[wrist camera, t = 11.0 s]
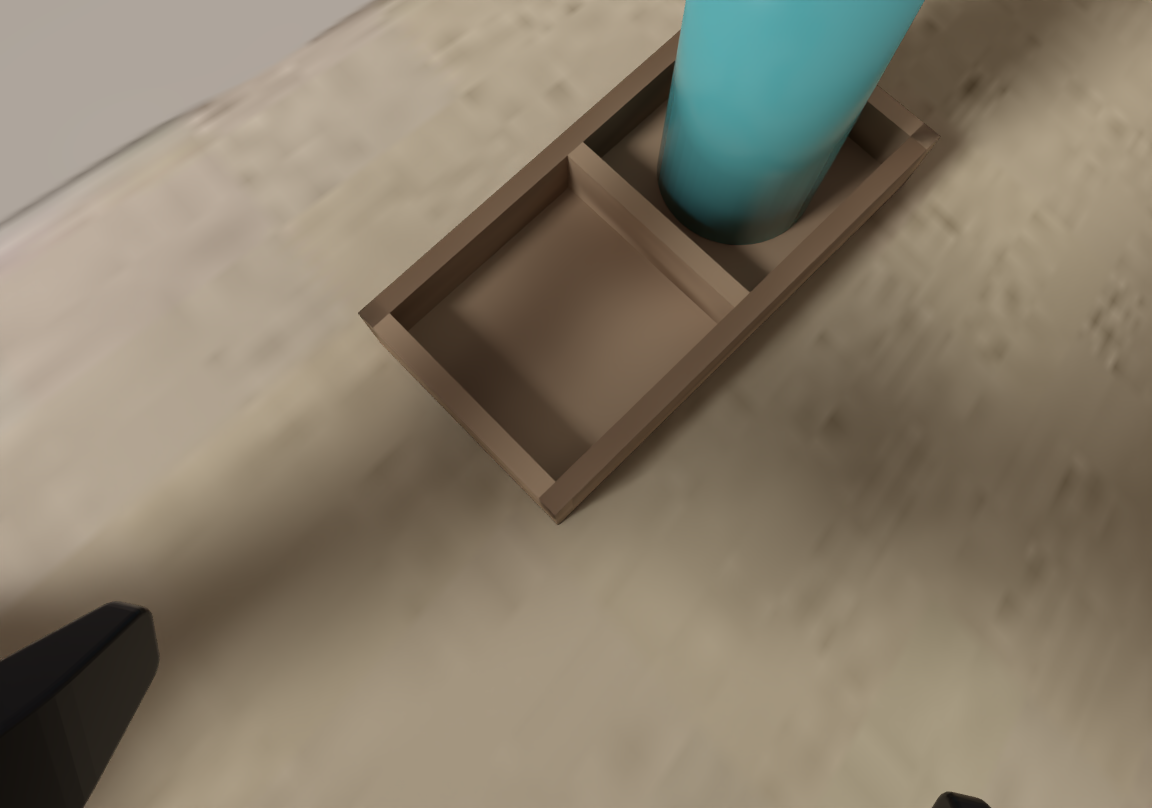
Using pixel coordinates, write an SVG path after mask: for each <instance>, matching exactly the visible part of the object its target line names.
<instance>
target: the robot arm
mask: <svg viewBox="0 0 1152 808" xmlns="http://www.w3.org/2000/svg"><path fill="white" fill-rule="evenodd" d="M158 664H159V650H158V645H157V639H156V633H155V628H154V622H153V617H152V613H151V612H150V611H149V610H148V609H147V608H146V607H143V606H139V605H134V604H130V603H125V602H121V601H114V602H110V603H107V604H105V605H102V606H101V607H99V608H97V609H95V610H93V611H91V612H89V613H88V614H86V615H84V616H82V617H80V618H78V619H76V620H74V621H73V622H71V623H69V624H67V625H65V626H63V627H61V628H60V629H58V630H56V631H54V632H52V633H50V634H48V635H47V636H45V637H43V638H41V639H39V640H37V641H35V642H33V643H32V644H30V645H28V646H26V647H24V648H22V649H20V650H19V651H17V652H15V653H13V654H11V655H9V656H7V657H5V658H4V659H2V660H0V808H83V807H84V806H85V804H86V802H87V801H88V799H89V797H90V795H91V794H92V792H93V790H94V788H95V787H96V785H97V783H98V781H99V779H100V777H101V776H102V774H103V772H104V770H105V768H106V766H107V764H108V763H109V761H110V759H111V757H112V755H113V753H114V751H115V749H116V748H117V746H118V744H119V742H120V740H121V738H122V736H123V734H124V733H125V731H126V729H127V727H128V725H129V723H130V721H131V720H132V718H133V716H134V714H135V712H136V710H137V708H138V706H139V705H140V703H141V701H142V699H143V697H144V695H145V693H146V691H147V690H148V688H149V686H150V684H151V682H152V680H153V678H154V676H155V674H156V671H157V668H158ZM932 808H991V807H990V806H989V805H988V804H987V803H986V802H984V801H983V800H981V799H979V798H976V797H972V796H968V795H963V794H959V793H955V792H945V793H943V794H941V795H940V796H939V797H938V799H937V800H936V802H935V804H934V805H933V807H932Z"/></svg>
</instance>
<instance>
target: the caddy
mask: <svg viewBox="0 0 1152 808" xmlns="http://www.w3.org/2000/svg"><path fill="white" fill-rule="evenodd" d="M680 31H681V30H680ZM680 31H679V32H677V33H676V34H675V35H674V36H673V37H672V38H671V39H669V40H668V41H667V42H666V43H665V44H664V45H663V46H661V47H660V48H659V49H658V50H657V51H656V52H655V53H653V54H652V55H651V56H650V57H649V58H648V59H647V60H646V61H644V62H643V63H642V64H641V65H640V66H639V67H638V68H636V69H635V70H634V71H633V72H632V73H631V74H630V75H628V76H627V77H626V78H625V79H624V80H623V81H622V82H620V83H619V84H618V85H617V86H616V87H615V88H614V89H612V90H611V91H610V92H609V93H608V94H607V95H606V96H604V97H603V98H602V99H601V100H600V101H599V102H598V103H597V104H595V105H594V106H593V107H592V108H591V109H590V110H589V111H587V112H586V113H585V114H584V115H583V116H582V117H581V118H579V119H578V120H577V121H576V122H575V123H574V124H573V125H571V126H570V127H569V128H568V129H567V130H566V131H565V132H563V133H562V134H561V135H560V136H559V137H558V138H557V139H556V140H554V141H553V142H552V143H551V144H550V145H549V146H548V147H546V148H545V149H544V150H543V151H542V152H541V153H540V154H538V155H537V156H536V157H535V158H534V159H533V160H532V161H530V162H529V163H528V164H527V165H526V166H525V167H524V168H522V169H521V170H520V171H519V172H518V173H517V174H516V175H514V176H513V177H512V178H511V179H510V180H509V181H508V182H507V183H505V184H504V185H503V186H502V187H501V188H500V189H499V190H497V191H496V192H495V193H494V194H493V195H492V196H491V197H489V198H488V199H487V200H486V201H485V202H484V203H483V204H481V205H480V206H479V207H478V208H477V209H476V210H475V211H473V212H472V213H471V214H470V215H469V216H468V217H467V218H466V219H464V220H463V221H462V222H461V223H460V224H459V225H458V226H456V227H455V228H454V229H453V230H452V231H451V232H450V233H448V234H447V235H446V236H445V237H444V238H443V239H442V240H440V241H439V242H438V243H437V244H436V245H435V246H434V247H432V248H431V249H430V250H429V251H428V252H427V253H426V254H425V255H423V256H422V257H421V258H420V259H419V260H418V261H417V262H415V263H414V264H413V265H412V266H411V267H410V268H409V269H407V270H406V271H405V272H404V273H403V274H402V275H401V276H399V277H398V278H397V279H396V280H395V281H394V282H393V283H391V284H390V285H389V286H388V287H387V288H386V289H385V290H383V291H382V292H381V293H380V294H379V295H378V296H377V297H376V298H374V299H373V300H372V301H371V302H370V303H369V304H368V305H366V306H365V307H364V308H363V309H362V310H361V311H360V312H358V314H359V315H360V316H361V318H362V319H363V320H364V322H365V323H366V324H367V326H368V327H369V328H370V330H371V331H372V332H373V334H374V335H375V336H376V337H377V339H378V340H379V341H380V343H381V344H382V345H383V346H384V347H385V348H386V349H387V350H388V351H389V352H390V353H391V354H392V355H393V356H394V357H395V358H396V359H397V360H398V361H399V362H400V363H401V364H402V365H403V366H404V367H405V368H406V370H407V371H408V372H409V373H410V374H411V375H412V376H413V377H414V378H415V379H416V380H417V381H418V382H419V383H420V384H421V385H422V386H423V387H424V388H425V389H426V390H427V391H428V392H429V393H430V394H431V395H432V396H433V397H434V398H435V399H436V400H437V401H438V402H439V403H440V404H441V405H442V406H443V408H444V409H445V410H446V411H447V412H448V413H449V414H450V415H451V416H452V417H453V418H454V419H455V420H456V421H457V422H458V423H459V424H460V425H461V426H462V427H463V428H464V429H465V430H466V431H467V432H468V433H469V434H470V435H471V436H472V437H473V438H474V439H475V440H476V441H477V442H478V443H479V444H480V446H481V447H482V448H483V449H484V450H485V451H486V452H487V453H488V454H489V455H490V456H491V457H492V458H493V459H494V460H495V461H496V462H497V463H498V464H499V465H500V466H501V467H502V468H503V469H504V470H505V471H506V472H507V473H508V474H509V475H510V476H511V477H512V478H513V479H514V480H515V481H516V482H517V484H518V485H519V486H520V487H521V488H522V489H523V490H524V491H525V492H526V493H527V494H528V495H529V496H530V497H531V498H532V499H533V500H534V501H535V502H536V503H537V504H538V505H539V506H540V507H541V508H542V509H543V510H544V511H545V512H546V513H547V514H548V515H549V516H550V517H551V518H552V519H553V520H554V522H555V523H556V524H557V525H559V524H560V523H561V522H562V521H563V520H564V519H565V518H566V517H567V516H568V515H569V514H570V513H571V512H572V511H573V510H574V509H575V508H576V507H577V506H578V505H579V504H580V503H581V502H582V501H583V500H584V499H585V498H586V497H587V496H588V495H589V494H590V493H591V492H592V491H593V490H594V489H595V488H596V487H597V486H598V485H599V484H600V483H601V482H602V481H603V480H604V479H605V478H606V477H607V476H608V475H609V474H610V473H611V472H612V471H613V470H614V469H615V468H617V467H618V466H619V465H620V464H621V463H622V462H623V461H624V460H625V459H626V458H627V457H628V456H629V455H630V454H631V453H632V452H633V451H634V450H635V449H636V448H637V447H638V446H639V445H640V444H641V443H642V442H643V441H644V440H645V439H646V438H647V437H648V436H649V435H650V434H651V433H652V432H653V431H654V430H655V429H656V428H657V427H658V426H659V425H660V424H661V423H662V422H663V421H664V420H665V419H666V418H667V417H668V416H669V415H670V414H671V413H672V412H673V411H674V410H675V409H676V408H677V407H678V406H679V405H680V404H681V403H682V402H683V401H684V400H685V399H686V398H687V397H688V396H689V395H691V394H692V393H693V392H694V391H695V390H696V389H697V388H698V387H699V386H700V385H701V384H702V383H703V382H704V381H705V380H706V379H707V378H708V377H709V376H710V375H711V374H712V373H713V372H714V371H715V370H716V369H717V368H718V367H719V366H720V365H721V364H722V363H723V362H724V361H725V360H726V359H727V358H728V357H729V356H730V355H731V354H732V353H733V352H734V351H735V350H736V349H737V348H738V347H739V346H740V345H741V344H742V343H743V342H744V341H745V340H746V339H747V338H748V337H749V336H750V335H751V334H752V333H753V332H754V331H755V330H756V329H757V328H758V327H759V326H760V325H761V324H762V323H763V322H765V321H766V320H767V319H768V318H769V317H770V316H771V315H772V314H773V313H774V312H775V311H776V310H777V309H778V308H779V307H780V306H781V305H782V304H783V303H784V302H785V301H786V300H787V299H788V298H789V297H790V296H791V295H792V294H793V293H794V292H795V291H796V290H797V289H798V288H799V287H800V286H801V285H802V284H803V283H804V282H805V281H806V280H807V279H808V278H809V277H810V276H811V275H812V274H813V273H814V272H815V271H816V270H817V269H818V268H819V267H820V266H821V265H822V264H823V263H824V262H825V261H826V260H827V259H828V258H829V257H830V256H831V255H832V254H833V253H834V252H835V251H836V250H837V249H838V248H840V247H841V246H842V245H843V244H844V243H845V242H846V241H847V240H848V239H849V238H850V237H851V236H852V235H853V234H854V233H855V232H856V231H857V230H858V229H859V228H860V227H861V226H862V225H863V224H864V223H865V222H866V221H867V220H868V219H869V218H870V217H871V216H872V215H873V214H874V213H875V212H876V211H877V210H878V209H879V208H880V207H881V206H882V205H883V204H884V203H885V202H886V201H887V200H888V199H889V198H890V197H891V196H892V195H893V194H894V193H895V192H896V191H897V190H898V189H899V188H900V187H901V186H902V185H903V184H904V183H905V182H906V181H907V180H908V178H909V177H910V176H911V174H912V173H913V172H914V171H915V169H916V168H917V167H918V165H919V164H920V163H921V161H922V160H923V159H924V157H925V156H926V155H927V153H928V152H929V151H930V150H931V148H932V147H933V146H934V144H935V143H936V142H937V140H938V139H939V138H940V135H938V134H937V133H936V132H935V131H933V130H932V129H931V128H930V127H928V126H927V125H926V124H925V123H924V122H922V121H921V120H920V119H919V118H917V117H916V116H915V115H914V114H912V113H911V112H910V111H909V110H908V109H906V108H905V107H904V106H903V105H901V104H900V103H899V102H898V101H896V100H895V99H894V98H893V97H891V96H890V95H889V94H888V93H887V92H885V91H884V90H883V89H882V88H880V87H879V86H878V85H876V87H875V89H874V91H873V92H872V94H871V96H870V98H869V99H868V101H867V103H866V105H865V107H864V108H863V110H862V112H861V114H860V115H859V117H858V119H857V121H856V122H855V124H854V126H853V128H852V129H851V131H850V133H849V135H848V137H847V138H846V140H845V142H844V144H843V145H842V147H841V149H840V151H839V152H838V154H837V156H836V158H835V159H834V161H833V163H832V165H831V167H830V168H829V170H828V172H827V174H826V175H825V177H824V179H823V181H822V182H821V184H820V186H819V188H818V189H817V191H816V193H815V195H814V197H813V198H812V200H811V202H810V204H809V205H808V207H807V209H806V210H805V212H804V214H803V215H802V216H801V217H800V219H799V220H798V221H797V222H796V223H795V224H794V225H793V226H792V227H791V228H790V229H788V230H787V231H785V232H784V233H782V234H781V235H779V236H777V237H775V238H773V239H770V240H767V241H764V242H761V243H756V244H749V245H729V244H723V243H718V242H715V241H711V240H709V239H706V238H704V237H701V236H699V235H698V234H696V233H694V232H692V231H691V230H689V229H688V228H687V227H685V226H684V225H683V224H682V223H681V222H680V221H679V220H677V219H676V217H675V216H674V215H673V214H672V213H671V211H670V210H669V208H668V207H667V205H666V204H665V202H664V200H663V197H662V195H661V193H660V189H659V186H658V180H657V162H658V156H659V150H660V144H661V139H662V133H663V127H664V122H665V116H666V111H667V105H668V99H669V94H670V88H671V82H672V77H673V71H674V65H675V60H676V54H677V48H678V43H679V37H680Z"/></svg>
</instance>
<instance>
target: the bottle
mask: <svg viewBox="0 0 1152 808" xmlns="http://www.w3.org/2000/svg"><path fill="white" fill-rule="evenodd" d="M924 1H925V0H686V3H685V9H684V15H683V20H682V26H681V31H680V37H679V43H678V48H677V54H676V60H675V65H674V71H673V77H672V82H671V88H670V94H669V99H668V105H667V111H666V116H665V122H664V127H663V133H662V139H661V144H660V150H659V156H658V162H657V180H658V186H659V189H660V193H661V195H662V197H663V200H664V202H665V204H666V205H667V207H668V208H669V210H670V211H671V213H672V214H673V215H674V216H675V217H676V219H677V220H679V221H680V222H681V223H682V224H683V225H684V226H685V227H687V228H688V229H689V230H691V231H692V232H694V233H696V234H698V235H699V236H701V237H704V238H706V239H709V240H711V241H715V242H718V243H723V244H729V245H749V244H756V243H761V242H764V241H767V240H770V239H773V238H775V237H777V236H779V235H781V234H782V233H784V232H785V231H787V230H788V229H790V228H791V227H792V226H793V225H794V224H795V223H796V222H797V221H798V220H799V219H800V217H801V216H802V215H803V214H804V212H805V210H806V209H807V207H808V205H809V204H810V202H811V200H812V198H813V197H814V195H815V193H816V191H817V189H818V188H819V186H820V184H821V182H822V181H823V179H824V177H825V175H826V174H827V172H828V170H829V168H830V167H831V165H832V163H833V161H834V159H835V158H836V156H837V154H838V152H839V151H840V149H841V147H842V145H843V144H844V142H845V140H846V138H847V137H848V135H849V133H850V131H851V129H852V128H853V126H854V124H855V122H856V121H857V119H858V117H859V115H860V114H861V112H862V110H863V108H864V107H865V105H866V103H867V101H868V99H869V98H870V96H871V94H872V92H873V91H874V89H875V87H876V85H877V84H878V82H879V80H880V78H881V77H882V75H883V73H884V71H885V69H886V68H887V66H888V64H889V62H890V61H891V59H892V57H893V55H894V54H895V52H896V50H897V48H898V47H899V45H900V43H901V41H902V39H903V38H904V36H905V34H906V32H907V31H908V29H909V27H910V25H911V24H912V22H913V20H914V18H915V17H916V15H917V13H918V11H919V9H920V8H921V6H922V4H923V2H924Z"/></svg>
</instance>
